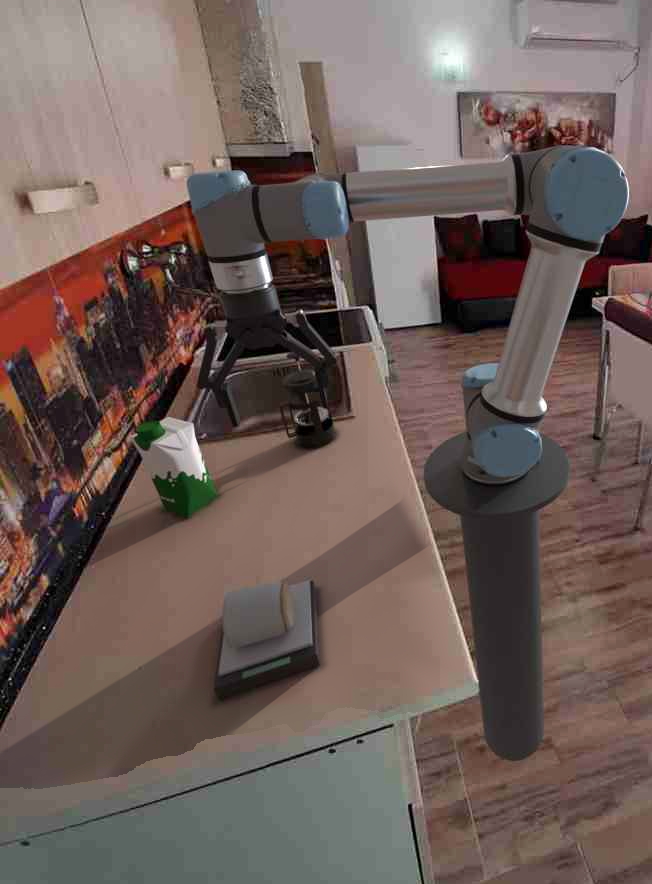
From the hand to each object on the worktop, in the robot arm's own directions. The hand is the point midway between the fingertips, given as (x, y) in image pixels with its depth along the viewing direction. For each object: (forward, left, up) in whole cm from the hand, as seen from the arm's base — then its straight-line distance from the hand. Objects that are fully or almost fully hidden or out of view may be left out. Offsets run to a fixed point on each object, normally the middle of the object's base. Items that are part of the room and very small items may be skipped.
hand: (282, 413), depth 83 cm
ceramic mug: (+7, +19, -24) cm, 32 cm away
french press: (-1, -36, -27) cm, 45 cm away
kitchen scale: (+7, +20, -27) cm, 34 cm away
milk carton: (+24, -21, -27) cm, 42 cm away
